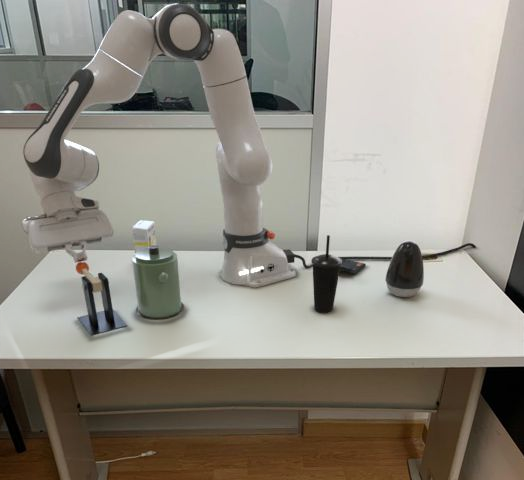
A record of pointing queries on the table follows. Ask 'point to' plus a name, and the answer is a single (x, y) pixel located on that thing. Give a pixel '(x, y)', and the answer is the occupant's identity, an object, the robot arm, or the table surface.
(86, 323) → the switch bracket
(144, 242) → the ink box
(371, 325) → the table surface
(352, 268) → the calculator
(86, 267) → the switch lever
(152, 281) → the green canister
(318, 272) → the drinking cup
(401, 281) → the black egg-shaped device
